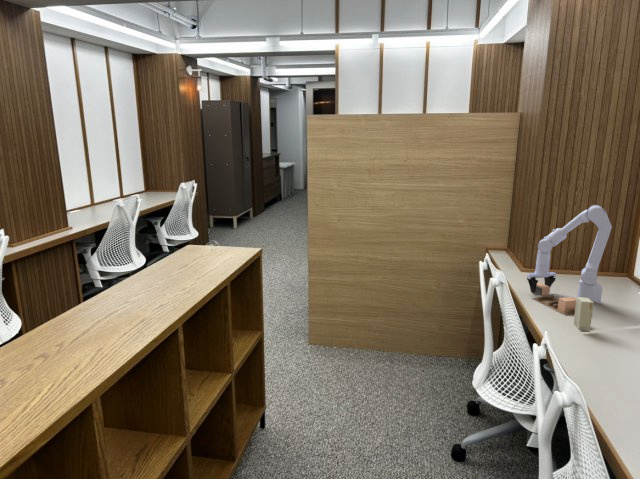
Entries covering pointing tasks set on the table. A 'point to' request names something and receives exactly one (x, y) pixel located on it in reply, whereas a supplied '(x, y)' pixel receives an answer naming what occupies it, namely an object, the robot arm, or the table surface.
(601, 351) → the table surface
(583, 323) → the skincare box
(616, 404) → the table surface
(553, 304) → the walnut rack
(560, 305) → the pink block
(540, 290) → the peach rectangular block
